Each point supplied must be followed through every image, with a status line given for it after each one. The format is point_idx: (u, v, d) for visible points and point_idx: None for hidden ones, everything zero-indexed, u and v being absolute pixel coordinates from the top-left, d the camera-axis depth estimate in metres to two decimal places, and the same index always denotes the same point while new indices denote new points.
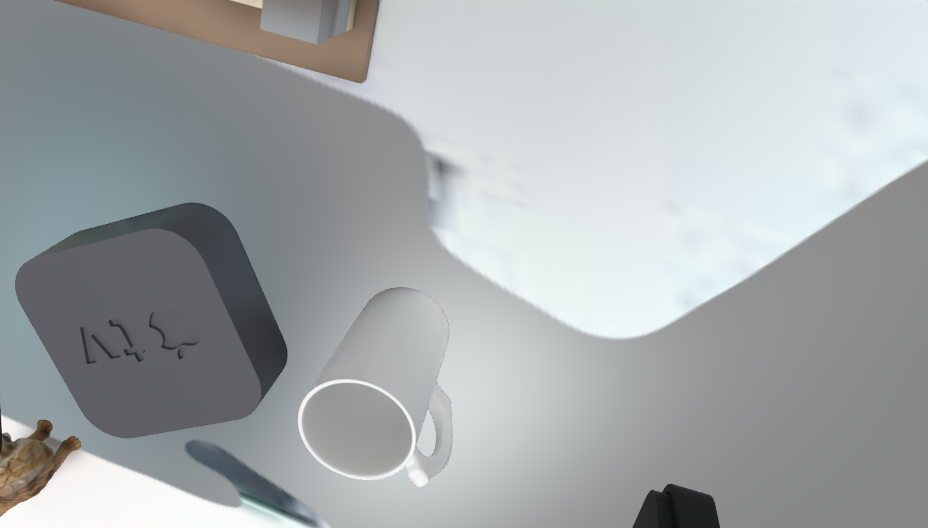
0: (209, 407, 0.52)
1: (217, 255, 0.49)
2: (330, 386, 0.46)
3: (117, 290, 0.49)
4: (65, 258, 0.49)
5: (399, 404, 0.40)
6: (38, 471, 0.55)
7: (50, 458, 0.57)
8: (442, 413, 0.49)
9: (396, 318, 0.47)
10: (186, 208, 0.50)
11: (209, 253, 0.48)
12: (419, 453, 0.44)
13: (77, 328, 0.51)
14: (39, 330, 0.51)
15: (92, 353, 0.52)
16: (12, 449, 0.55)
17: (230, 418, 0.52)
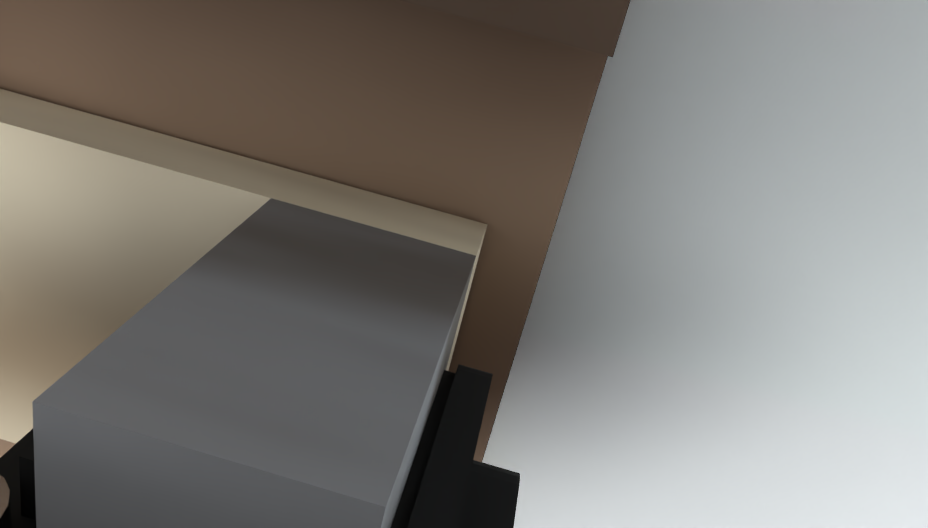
0: None
1: None
2: None
3: None
4: None
5: None
6: None
7: None
8: None
9: None
10: None
11: None
12: None
13: None
14: None
15: None
16: None
17: None
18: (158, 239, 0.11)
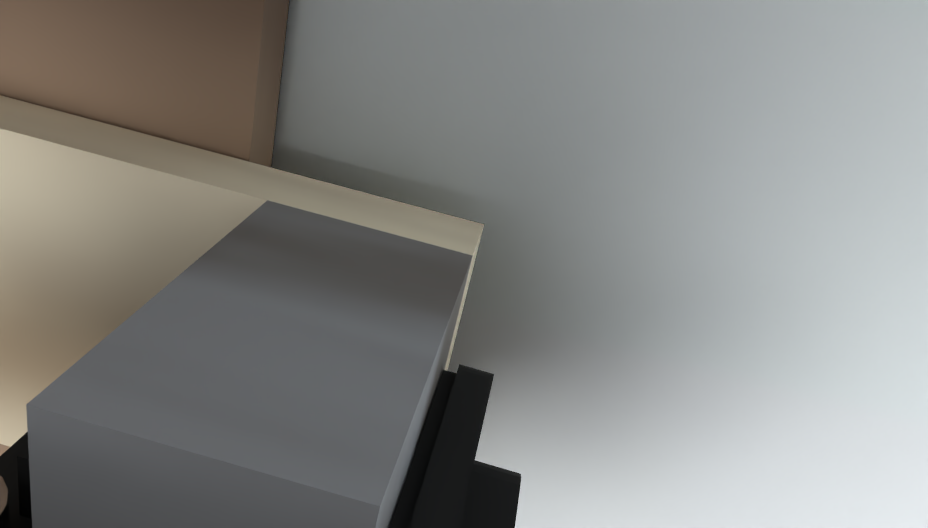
0: None
1: None
2: None
3: None
4: None
5: None
6: None
7: None
8: None
9: None
10: None
11: None
12: None
13: None
14: None
15: None
16: None
17: None
18: (155, 242, 0.11)
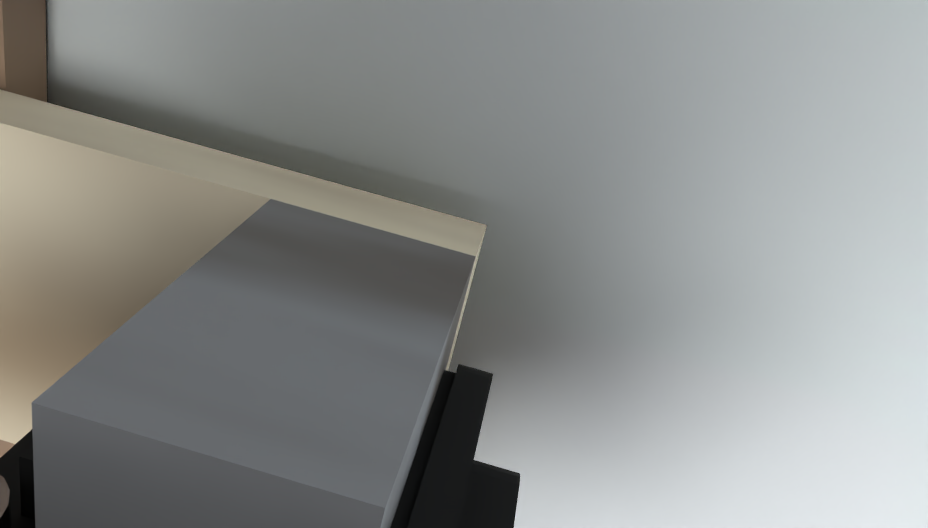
0: None
1: None
2: None
3: None
4: None
5: None
6: None
7: None
8: None
9: None
10: None
11: None
12: None
13: None
14: None
15: None
16: None
17: None
18: (157, 240, 0.11)
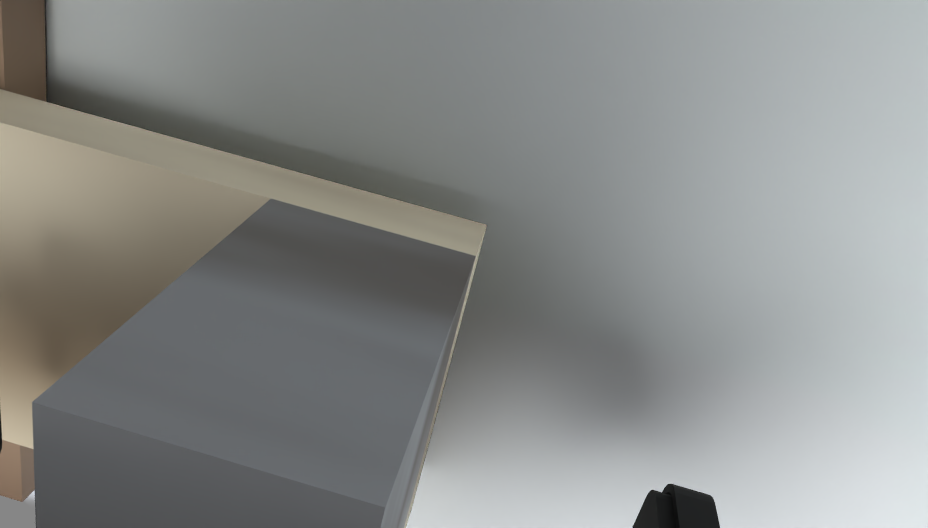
0: None
1: None
2: None
3: None
4: None
5: None
6: None
7: None
8: None
9: None
10: None
11: None
12: None
13: None
14: None
15: None
16: None
17: None
18: (158, 239, 0.11)
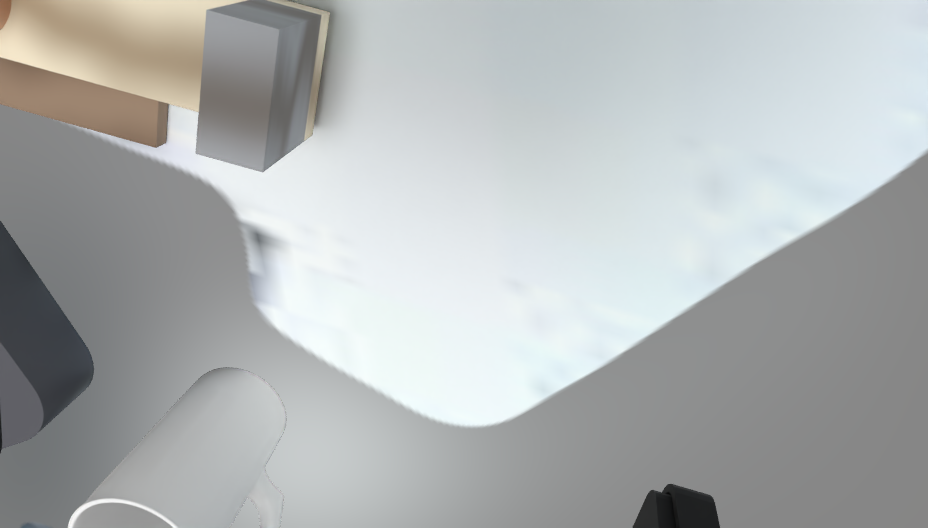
0: None
1: None
2: None
3: None
4: None
5: (175, 527, 0.35)
6: None
7: None
8: (268, 512, 0.44)
9: (207, 410, 0.41)
10: None
11: None
12: None
13: None
14: None
15: None
16: None
17: (18, 440, 0.44)
18: None
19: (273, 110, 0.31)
